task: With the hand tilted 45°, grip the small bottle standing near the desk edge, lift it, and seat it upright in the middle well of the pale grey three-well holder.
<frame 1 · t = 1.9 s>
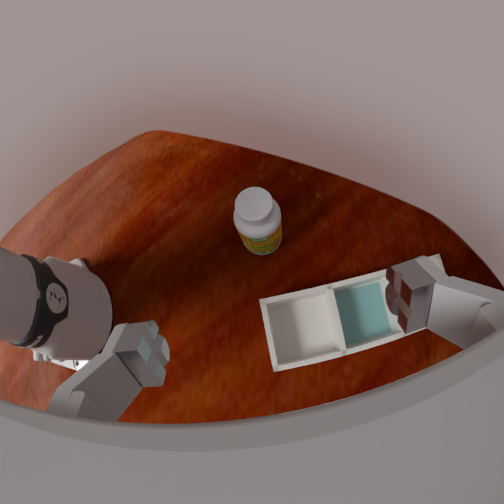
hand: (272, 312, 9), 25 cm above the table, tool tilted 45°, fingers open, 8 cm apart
supplement bottle: (262, 237, 37), on the table
well holder: (359, 314, 32), on the table
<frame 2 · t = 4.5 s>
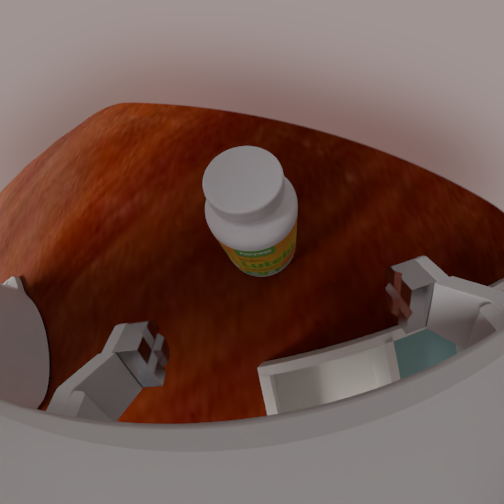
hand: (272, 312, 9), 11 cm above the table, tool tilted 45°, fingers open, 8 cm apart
supplement bottle: (262, 245, 22), on the table
well holder: (419, 368, 17), on the table
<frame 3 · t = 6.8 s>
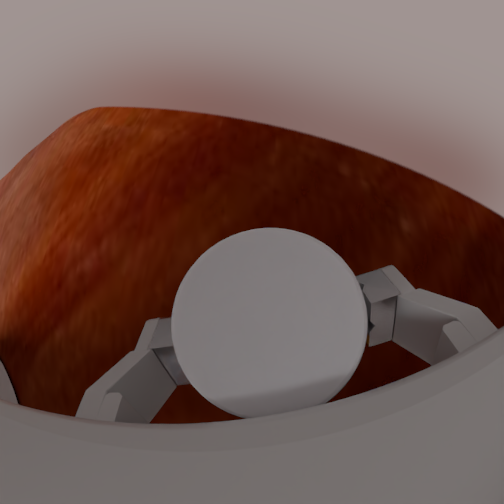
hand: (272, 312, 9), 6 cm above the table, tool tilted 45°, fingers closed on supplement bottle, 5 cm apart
supplement bottle: (282, 334, 14), on the table, touching gripper
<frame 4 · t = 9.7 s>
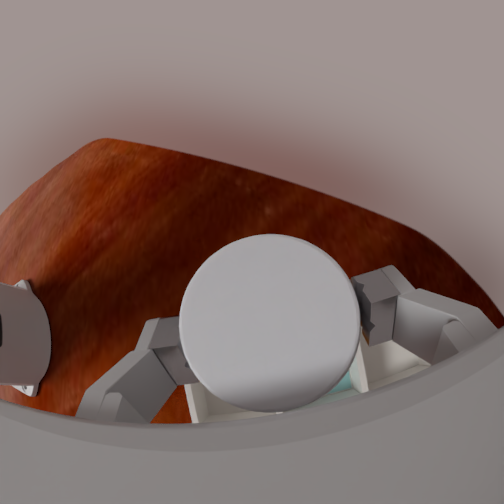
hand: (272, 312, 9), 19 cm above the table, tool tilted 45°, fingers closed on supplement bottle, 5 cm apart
supplement bottle: (282, 333, 15), point 12 cm above the table, touching gripper
well holder: (312, 364, 25), on the table
when the fingers open (8 cm above the table, at t = 13.0 s): supplement bottle stays where it is, resting on well holder.
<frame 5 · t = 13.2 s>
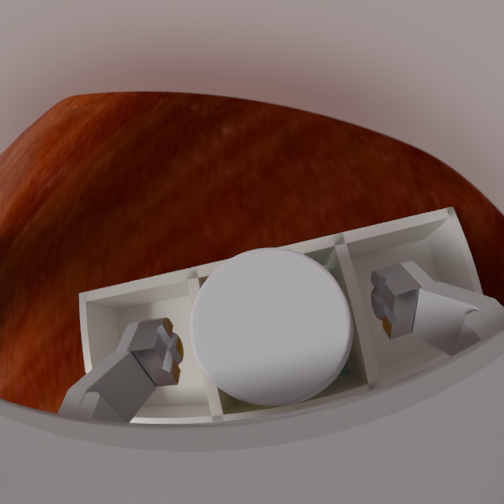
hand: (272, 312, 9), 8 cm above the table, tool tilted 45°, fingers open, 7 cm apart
supplement bottle: (281, 334, 16), point 1 cm above the table, touching well holder
well holder: (283, 334, 16), on the table
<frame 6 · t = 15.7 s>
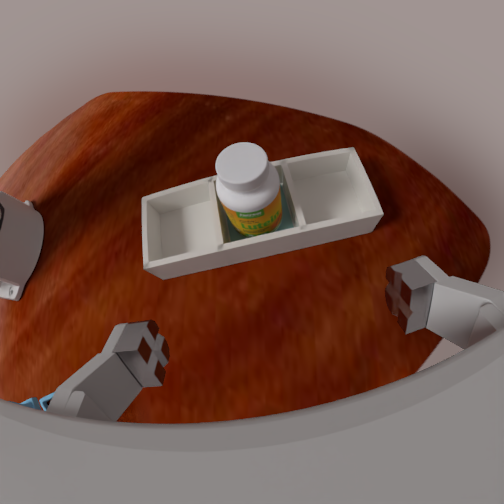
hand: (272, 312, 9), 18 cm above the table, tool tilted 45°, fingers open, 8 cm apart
supplement bottle: (257, 217, 29), point 1 cm above the table, touching well holder
well holder: (259, 221, 30), on the table
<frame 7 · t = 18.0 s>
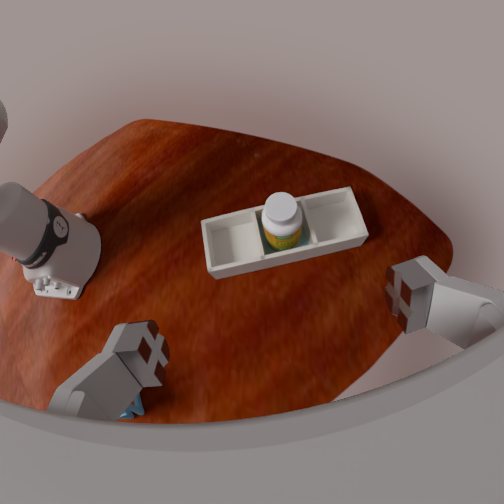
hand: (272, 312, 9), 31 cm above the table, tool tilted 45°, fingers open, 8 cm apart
chair: (128, 394, 38), on the table
supplement bottle: (283, 236, 42), point 1 cm above the table, touching well holder
well holder: (284, 238, 43), on the table
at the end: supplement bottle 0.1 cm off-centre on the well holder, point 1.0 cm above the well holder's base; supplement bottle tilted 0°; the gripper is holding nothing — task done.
